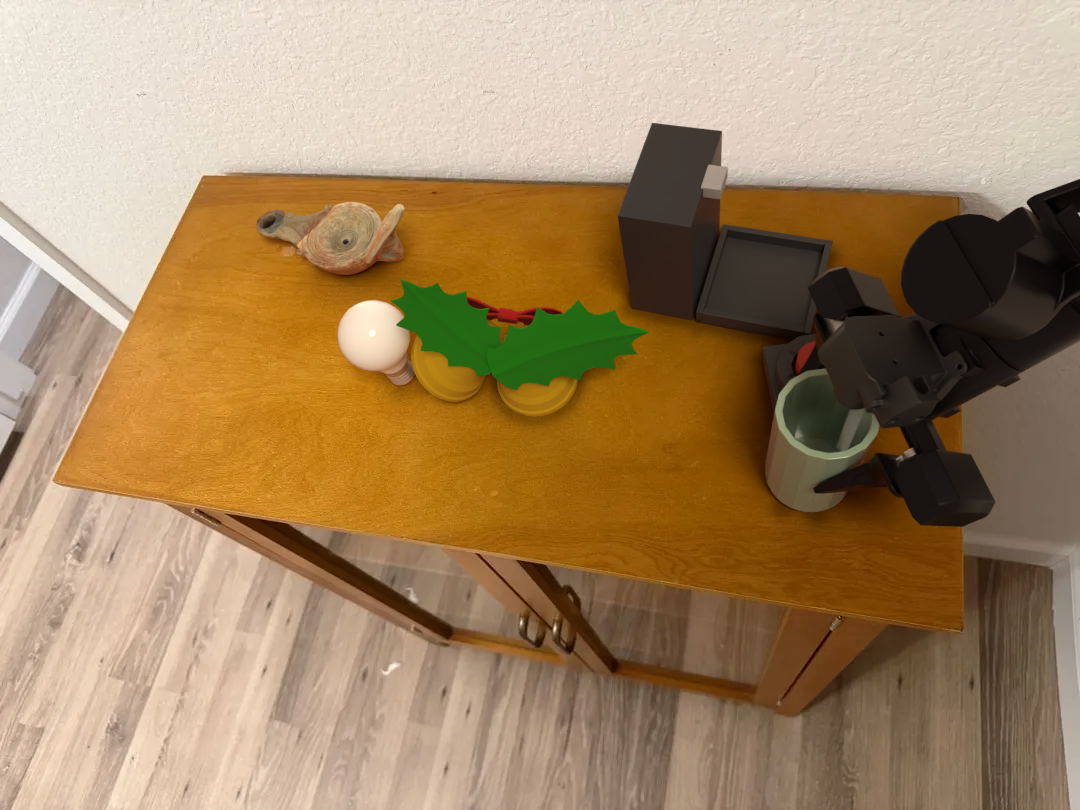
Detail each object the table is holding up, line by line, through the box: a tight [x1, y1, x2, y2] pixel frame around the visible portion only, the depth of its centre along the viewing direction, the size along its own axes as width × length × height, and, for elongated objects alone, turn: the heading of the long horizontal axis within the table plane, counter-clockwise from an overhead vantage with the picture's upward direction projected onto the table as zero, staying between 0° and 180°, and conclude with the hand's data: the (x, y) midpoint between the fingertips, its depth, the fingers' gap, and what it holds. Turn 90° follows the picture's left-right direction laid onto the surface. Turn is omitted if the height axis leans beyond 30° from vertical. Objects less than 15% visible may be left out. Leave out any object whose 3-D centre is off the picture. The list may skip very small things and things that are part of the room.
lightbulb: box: [336, 299, 416, 386], centre depth 71 cm, size 6×6×11 cm
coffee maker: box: [617, 122, 834, 341], centre depth 67 cm, size 16×10×14 cm, turn 70°
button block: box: [761, 333, 816, 414], centre depth 66 cm, size 7×7×4 cm
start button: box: [795, 342, 816, 374], centre depth 63 cm, size 3×3×2 cm
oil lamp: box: [255, 201, 406, 276], centre depth 80 cm, size 9×21×10 cm, turn 69°
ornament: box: [390, 279, 650, 418], centre depth 68 cm, size 21×8×15 cm, turn 84°
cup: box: [764, 368, 880, 513], centre depth 58 cm, size 7×7×12 cm
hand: (799, 446), depth 58 cm, fingers closed on cup, 7 cm apart
